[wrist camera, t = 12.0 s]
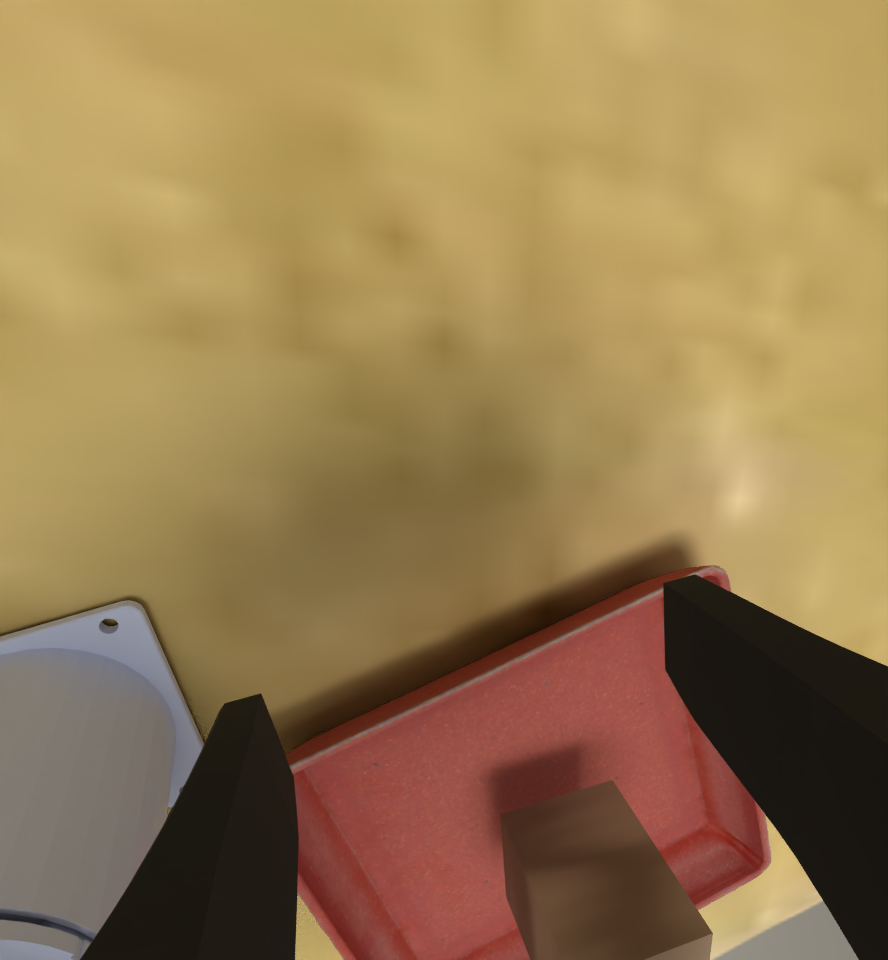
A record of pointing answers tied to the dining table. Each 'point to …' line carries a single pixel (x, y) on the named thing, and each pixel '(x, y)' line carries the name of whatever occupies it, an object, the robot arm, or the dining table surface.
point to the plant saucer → (512, 784)
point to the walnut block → (595, 883)
